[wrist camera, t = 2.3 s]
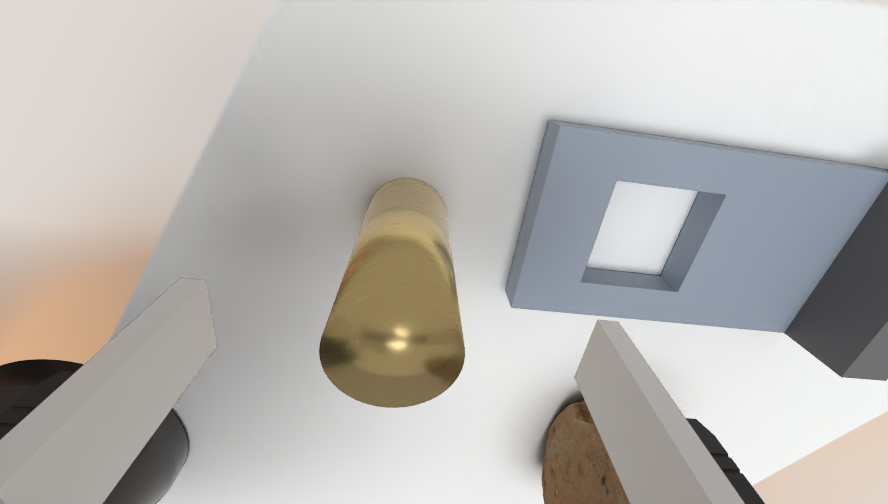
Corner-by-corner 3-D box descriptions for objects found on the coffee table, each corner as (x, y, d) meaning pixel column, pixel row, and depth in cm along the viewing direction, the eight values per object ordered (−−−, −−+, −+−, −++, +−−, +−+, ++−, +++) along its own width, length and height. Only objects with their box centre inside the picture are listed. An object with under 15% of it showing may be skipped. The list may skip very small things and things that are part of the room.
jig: (505, 290, 26) (526, 352, 20) (548, 119, 21) (591, 142, 15) (797, 318, 28) (886, 380, 23) (899, 171, 23) (1043, 206, 18)
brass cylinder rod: (366, 246, 24) (319, 403, 13) (370, 173, 22) (318, 289, 11) (440, 253, 24) (453, 411, 13) (451, 183, 22) (476, 304, 11)
